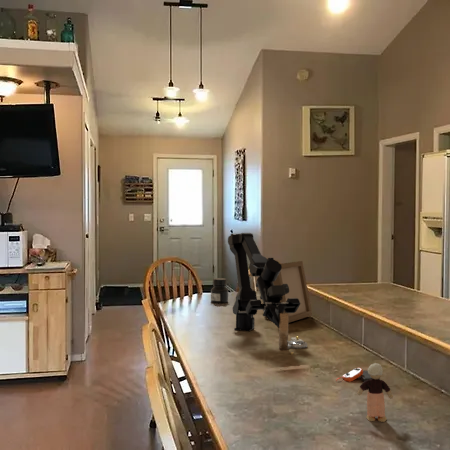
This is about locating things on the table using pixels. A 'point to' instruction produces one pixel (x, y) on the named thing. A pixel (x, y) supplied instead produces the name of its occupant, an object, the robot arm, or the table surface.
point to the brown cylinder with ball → (283, 334)
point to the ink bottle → (219, 291)
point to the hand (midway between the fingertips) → (280, 327)
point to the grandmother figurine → (375, 393)
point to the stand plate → (296, 340)
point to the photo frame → (295, 288)
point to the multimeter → (356, 375)
